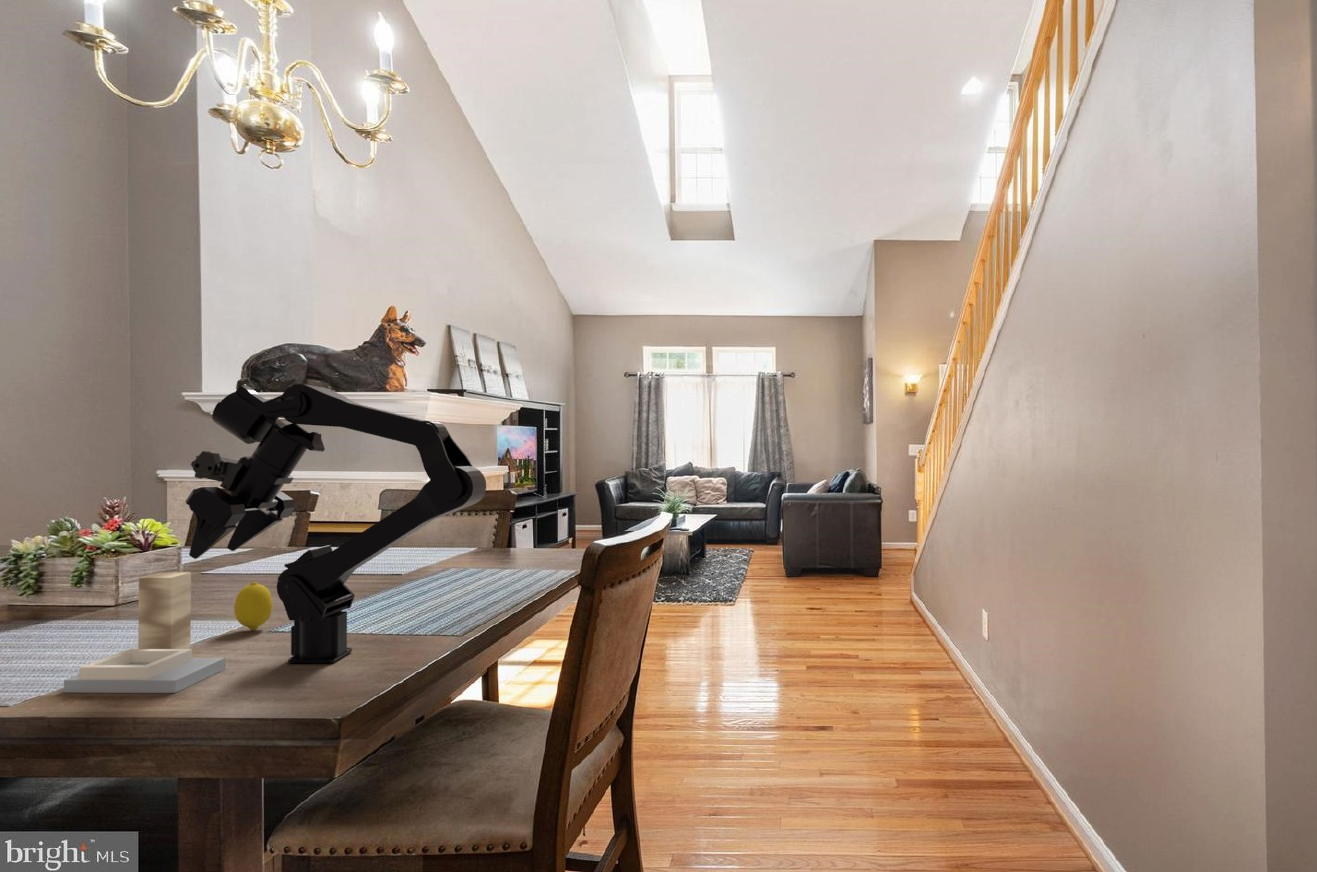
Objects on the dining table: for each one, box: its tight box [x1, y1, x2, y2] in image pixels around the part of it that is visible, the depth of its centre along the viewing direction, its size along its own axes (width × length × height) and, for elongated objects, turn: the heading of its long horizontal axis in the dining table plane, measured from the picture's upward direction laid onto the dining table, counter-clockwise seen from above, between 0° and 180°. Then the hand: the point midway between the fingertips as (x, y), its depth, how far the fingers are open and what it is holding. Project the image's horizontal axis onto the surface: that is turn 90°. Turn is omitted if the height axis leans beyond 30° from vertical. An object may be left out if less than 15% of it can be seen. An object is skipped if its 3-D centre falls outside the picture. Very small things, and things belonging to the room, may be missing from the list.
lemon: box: [233, 581, 274, 631], centre depth 123 cm, size 6×6×8 cm
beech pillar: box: [137, 571, 192, 649], centre depth 106 cm, size 4×4×12 cm
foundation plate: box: [63, 648, 226, 694], centre depth 97 cm, size 14×10×3 cm
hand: (212, 553), depth 107 cm, fingers open, 9 cm apart
